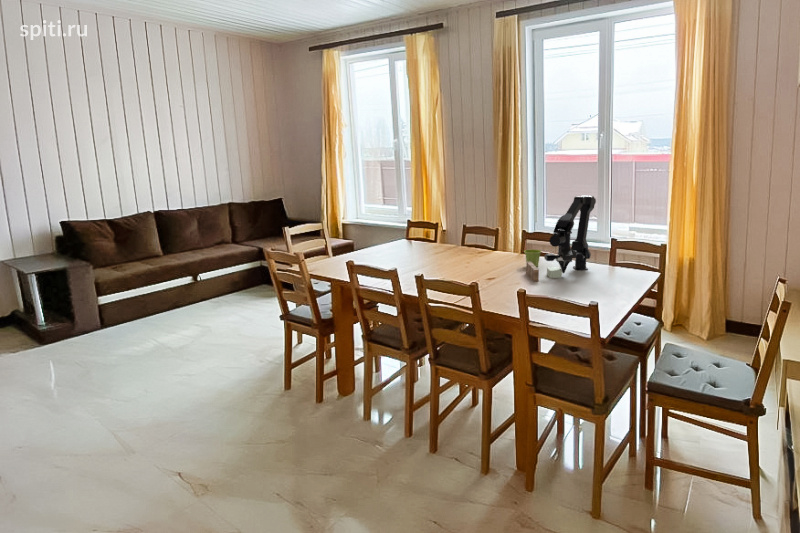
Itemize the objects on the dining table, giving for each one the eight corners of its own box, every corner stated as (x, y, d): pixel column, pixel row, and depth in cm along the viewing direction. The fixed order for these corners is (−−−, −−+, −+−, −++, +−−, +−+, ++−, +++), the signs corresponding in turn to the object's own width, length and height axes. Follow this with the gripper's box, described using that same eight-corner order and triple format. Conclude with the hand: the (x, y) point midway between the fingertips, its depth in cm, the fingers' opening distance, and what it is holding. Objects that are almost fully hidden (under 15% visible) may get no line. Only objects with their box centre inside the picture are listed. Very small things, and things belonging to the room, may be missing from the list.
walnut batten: (526, 272, 305) (526, 261, 303) (530, 272, 305) (531, 261, 303) (533, 281, 287) (533, 269, 286) (538, 281, 287) (538, 269, 286)
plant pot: (520, 266, 319) (520, 251, 317) (531, 263, 325) (531, 248, 322) (533, 269, 312) (533, 253, 310) (544, 266, 317) (545, 251, 315)
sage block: (546, 274, 300) (547, 267, 299) (558, 274, 300) (558, 267, 299) (550, 278, 293) (550, 270, 292) (561, 277, 293) (562, 270, 292)
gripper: (549, 247, 284) (549, 277, 287) (587, 245, 284) (586, 276, 287) (544, 242, 295) (543, 272, 298) (580, 241, 294) (579, 270, 298)
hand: (563, 273), depth 295 cm, fingers closed
